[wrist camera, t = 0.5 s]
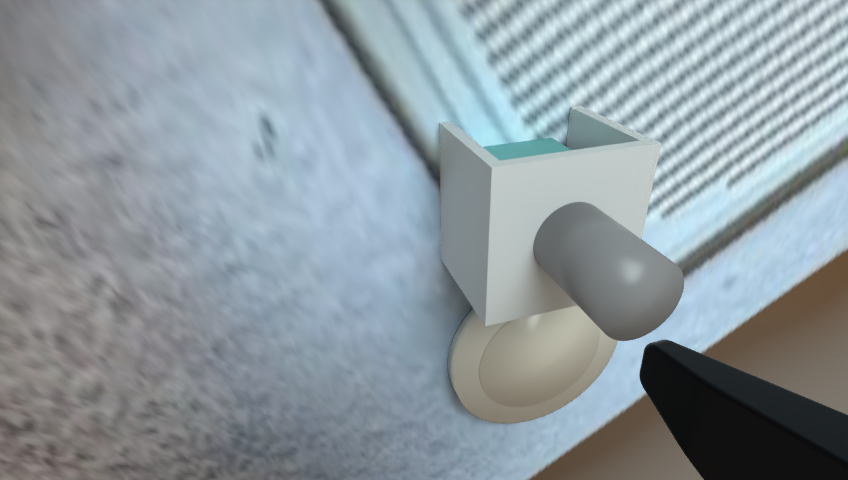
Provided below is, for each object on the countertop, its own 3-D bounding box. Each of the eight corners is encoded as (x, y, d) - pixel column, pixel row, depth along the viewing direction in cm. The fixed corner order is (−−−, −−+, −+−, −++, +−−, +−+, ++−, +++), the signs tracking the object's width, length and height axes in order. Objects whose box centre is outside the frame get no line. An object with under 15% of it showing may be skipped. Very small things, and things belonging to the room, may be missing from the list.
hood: (564, 235, 26) (704, 358, 19) (441, 259, 25) (536, 404, 17) (580, 106, 23) (758, 187, 15) (439, 122, 22) (557, 223, 14)
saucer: (596, 387, 33) (607, 401, 32) (447, 428, 31) (454, 444, 30) (622, 252, 28) (635, 263, 27) (447, 287, 26) (455, 301, 25)
